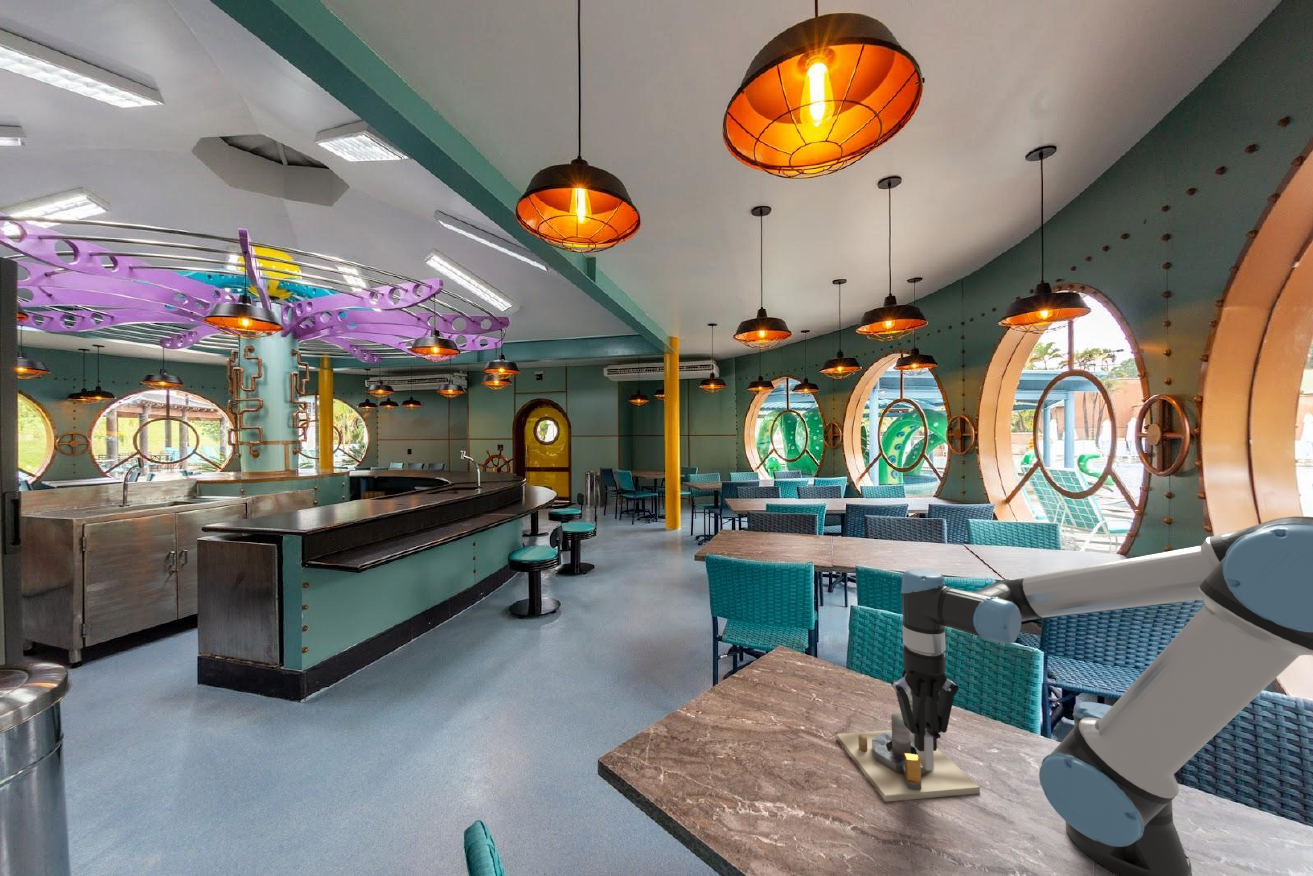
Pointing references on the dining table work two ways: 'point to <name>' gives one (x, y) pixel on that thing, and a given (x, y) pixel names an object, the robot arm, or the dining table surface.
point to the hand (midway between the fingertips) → (926, 765)
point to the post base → (892, 783)
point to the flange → (899, 760)
